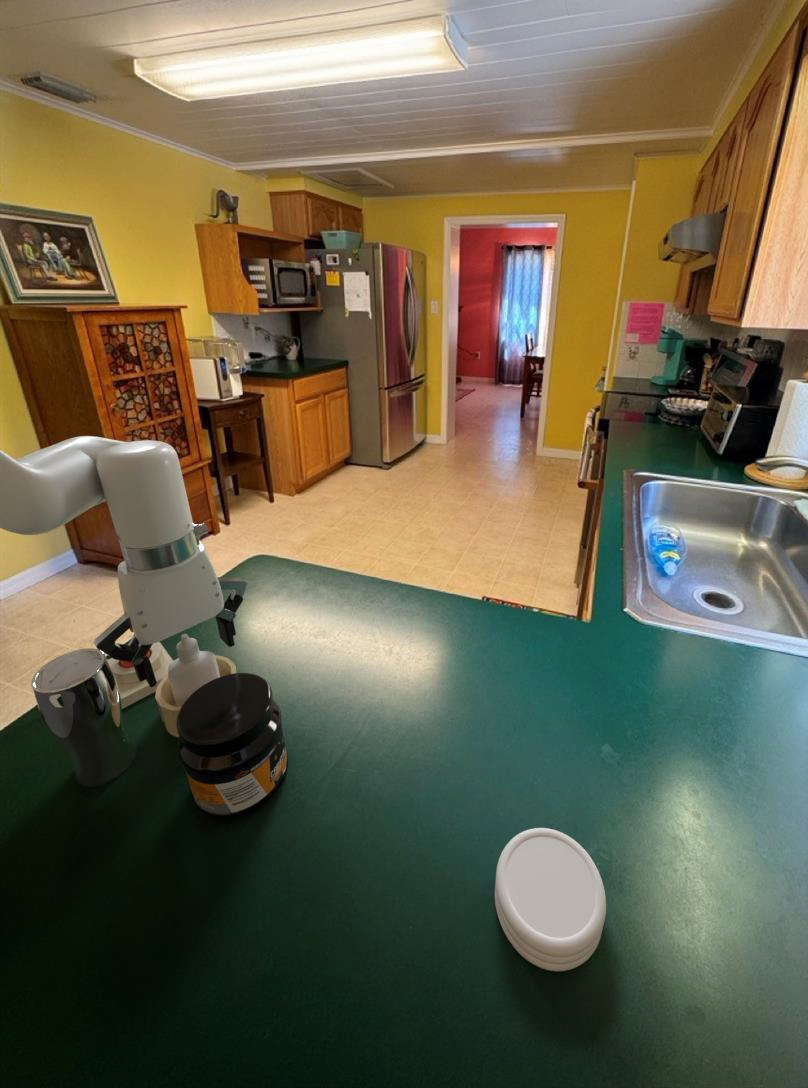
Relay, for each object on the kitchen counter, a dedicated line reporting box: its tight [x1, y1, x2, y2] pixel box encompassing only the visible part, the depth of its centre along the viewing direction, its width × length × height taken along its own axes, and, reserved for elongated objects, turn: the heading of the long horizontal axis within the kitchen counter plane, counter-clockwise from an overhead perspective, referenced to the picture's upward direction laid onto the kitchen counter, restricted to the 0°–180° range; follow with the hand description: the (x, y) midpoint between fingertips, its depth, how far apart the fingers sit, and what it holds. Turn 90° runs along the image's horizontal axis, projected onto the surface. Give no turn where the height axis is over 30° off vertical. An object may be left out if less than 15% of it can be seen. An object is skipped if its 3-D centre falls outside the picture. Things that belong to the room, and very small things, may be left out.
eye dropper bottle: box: [168, 633, 220, 706], centre depth 63 cm, size 4×6×12 cm
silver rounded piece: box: [30, 647, 137, 788], centre depth 55 cm, size 7×7×15 cm
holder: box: [154, 654, 238, 738], centre depth 64 cm, size 10×10×5 cm
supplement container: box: [176, 672, 289, 821], centre depth 53 cm, size 10×10×12 cm
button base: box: [107, 641, 174, 710], centre depth 70 cm, size 10×8×4 cm
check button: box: [120, 651, 150, 668], centre depth 69 cm, size 4×4×2 cm
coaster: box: [494, 827, 607, 972], centre depth 44 cm, size 10×10×4 cm
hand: (190, 660), depth 62 cm, fingers open, 9 cm apart
